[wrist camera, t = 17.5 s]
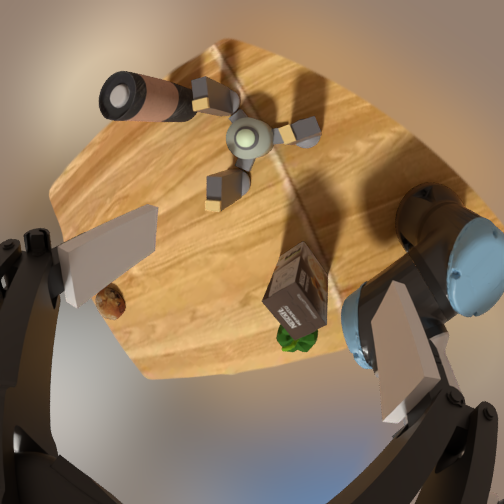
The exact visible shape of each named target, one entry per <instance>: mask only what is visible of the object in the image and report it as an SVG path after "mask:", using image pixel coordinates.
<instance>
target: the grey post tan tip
mask: <svg viewBox="0 0 504 504" xmlns="http://www.w3.org/2000/svg"><path fill="white" fill-rule="evenodd" d="M191 82H192V90H193V99H194V101H192V105H193V111H196V112H202V113H207V114H212V115H217V116H229V115H232V114H233V113H235V112H236V111H237V110H238V108H239V106H240V98H239V96H238V94H237V93H236V92H234V91H232V90H230V88H228V87H226V86H224V85H222V84H220V83H218V82H216V81H214V80H212V79H210V78H208V77H206V76H205V77H202V78H198V79H194V80H191Z"/></svg>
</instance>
